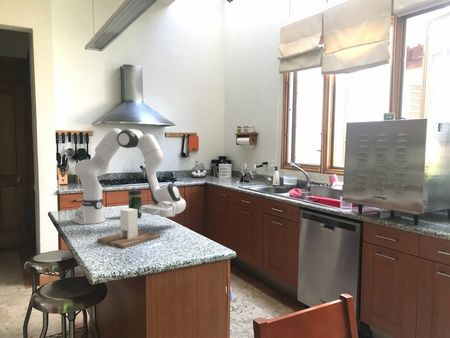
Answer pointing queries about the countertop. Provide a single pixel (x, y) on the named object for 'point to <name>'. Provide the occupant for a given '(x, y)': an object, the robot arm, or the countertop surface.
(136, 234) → the housing
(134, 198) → the coffee jar
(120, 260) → the countertop surface
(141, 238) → the stub board
